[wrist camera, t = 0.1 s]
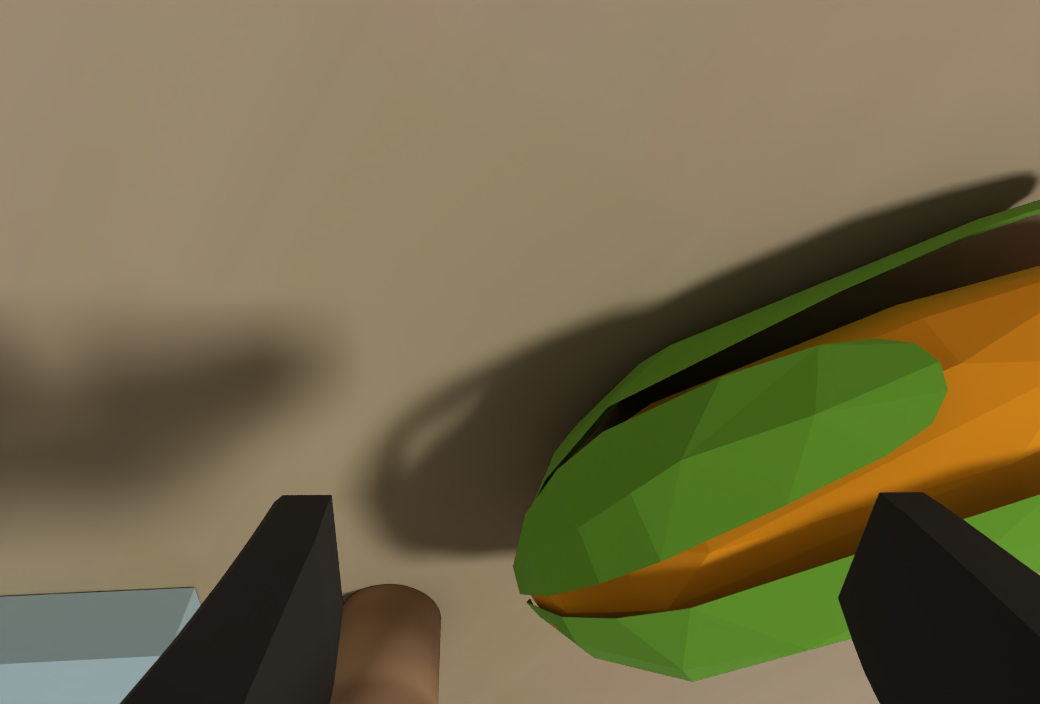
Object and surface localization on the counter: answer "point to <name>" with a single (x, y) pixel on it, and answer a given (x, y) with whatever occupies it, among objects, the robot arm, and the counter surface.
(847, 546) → the corn
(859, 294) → the counter surface
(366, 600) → the peg
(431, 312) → the counter surface
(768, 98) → the counter surface
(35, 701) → the board
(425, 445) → the counter surface
